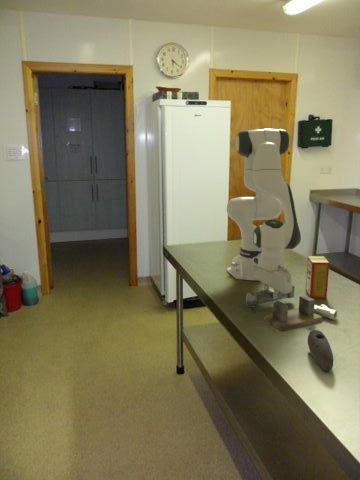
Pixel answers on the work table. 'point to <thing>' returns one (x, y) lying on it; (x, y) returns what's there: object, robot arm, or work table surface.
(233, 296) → the work table surface
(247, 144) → the robot arm
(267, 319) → the peg stand
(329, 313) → the pipe fitting
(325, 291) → the baking soda box
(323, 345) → the perforated stone tool
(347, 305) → the work table surface
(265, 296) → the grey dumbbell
